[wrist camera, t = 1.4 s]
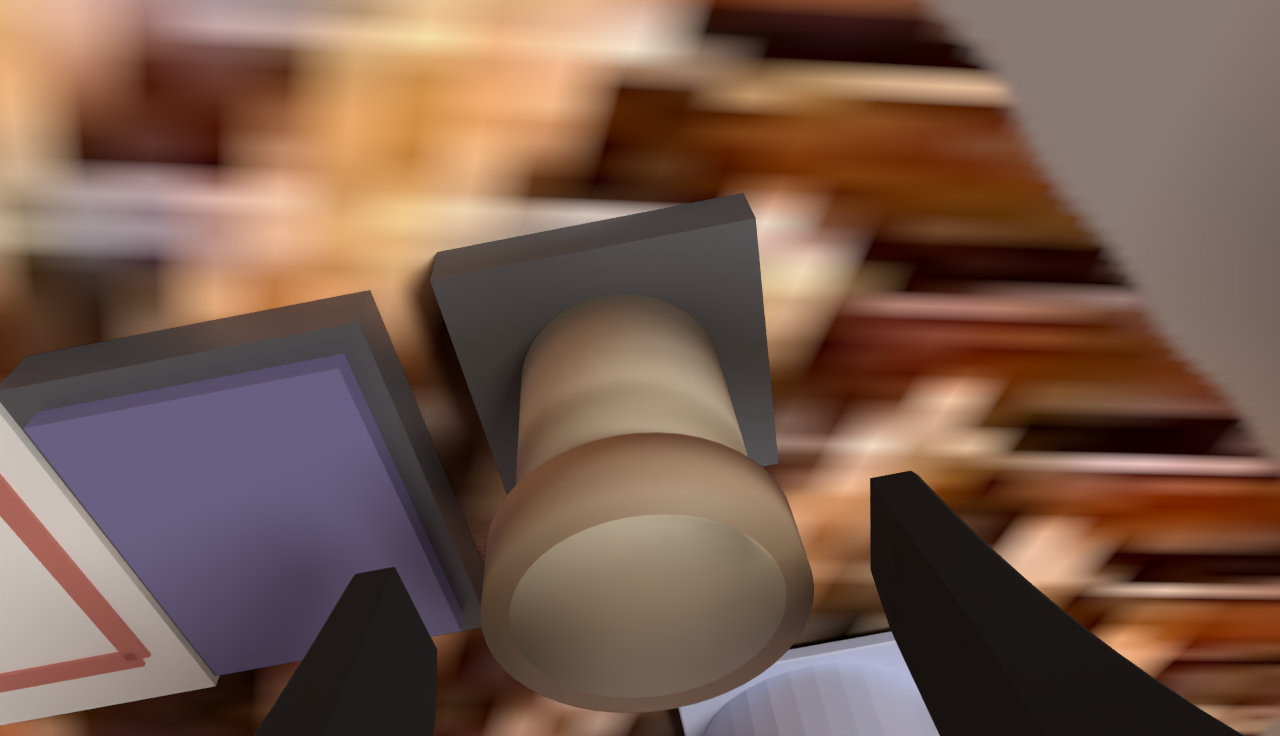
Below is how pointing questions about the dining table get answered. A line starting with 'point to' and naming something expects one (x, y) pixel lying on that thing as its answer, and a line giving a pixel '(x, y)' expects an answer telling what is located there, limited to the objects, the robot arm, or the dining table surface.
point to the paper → (73, 604)
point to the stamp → (629, 457)
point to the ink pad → (255, 472)
